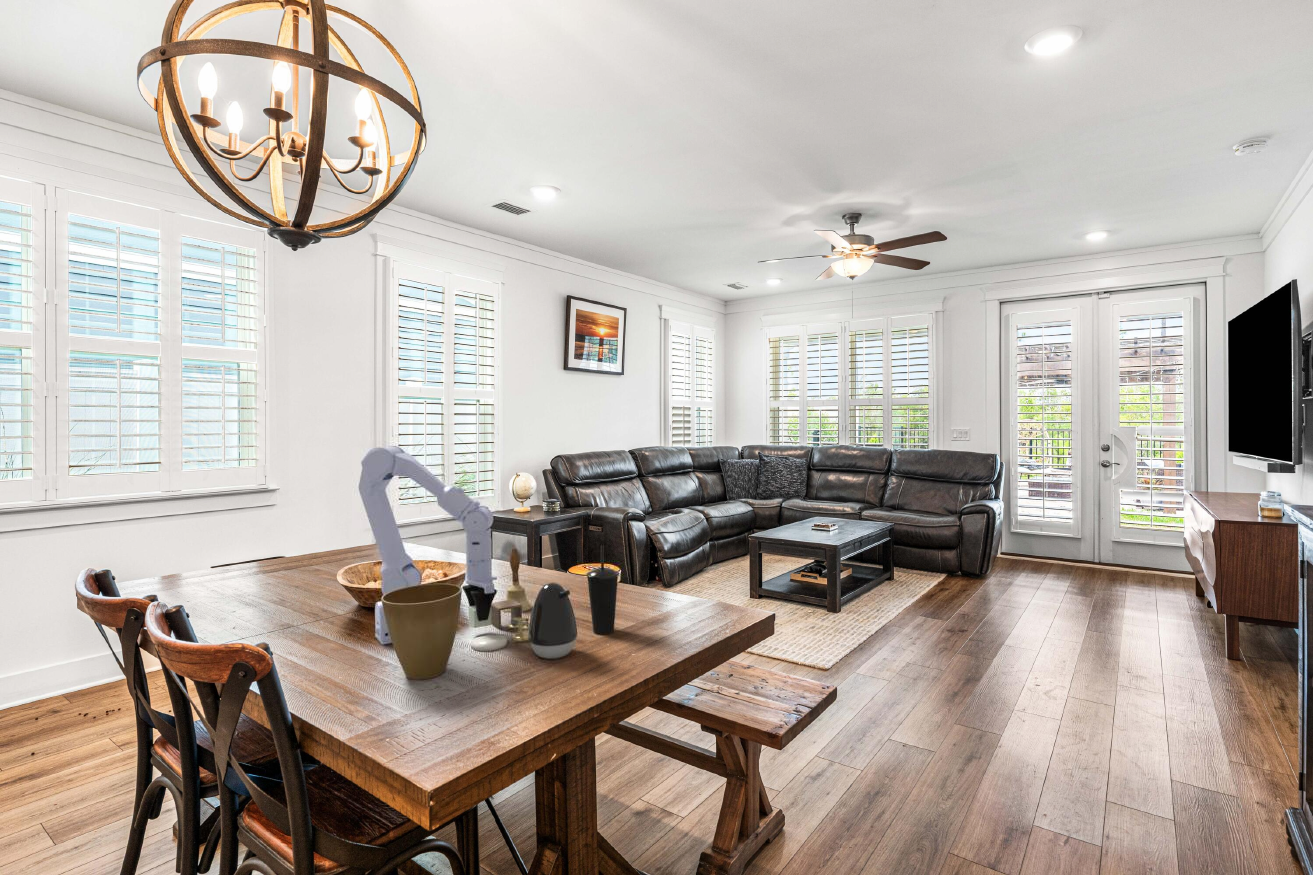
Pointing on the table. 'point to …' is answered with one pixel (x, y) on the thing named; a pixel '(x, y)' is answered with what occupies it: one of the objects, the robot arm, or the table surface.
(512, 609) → the cover
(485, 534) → the robot arm
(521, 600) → the hand bell
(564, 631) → the pump dispenser
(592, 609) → the drinking cup
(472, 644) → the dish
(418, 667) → the plant pot
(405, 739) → the table surface
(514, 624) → the balance
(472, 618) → the block
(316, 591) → the table surface
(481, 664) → the table surface
